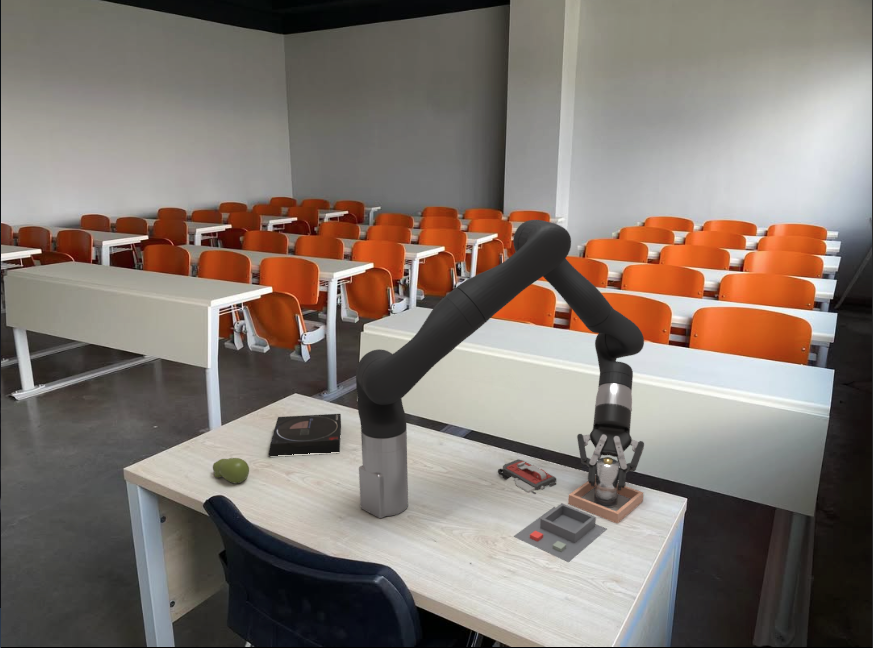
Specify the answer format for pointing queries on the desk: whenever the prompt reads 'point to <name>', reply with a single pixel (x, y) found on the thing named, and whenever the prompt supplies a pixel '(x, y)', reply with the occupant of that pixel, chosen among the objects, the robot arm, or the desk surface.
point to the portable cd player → (306, 435)
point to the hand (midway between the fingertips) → (606, 486)
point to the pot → (601, 510)
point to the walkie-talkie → (527, 476)
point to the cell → (606, 482)
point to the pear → (231, 469)
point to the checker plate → (562, 532)
